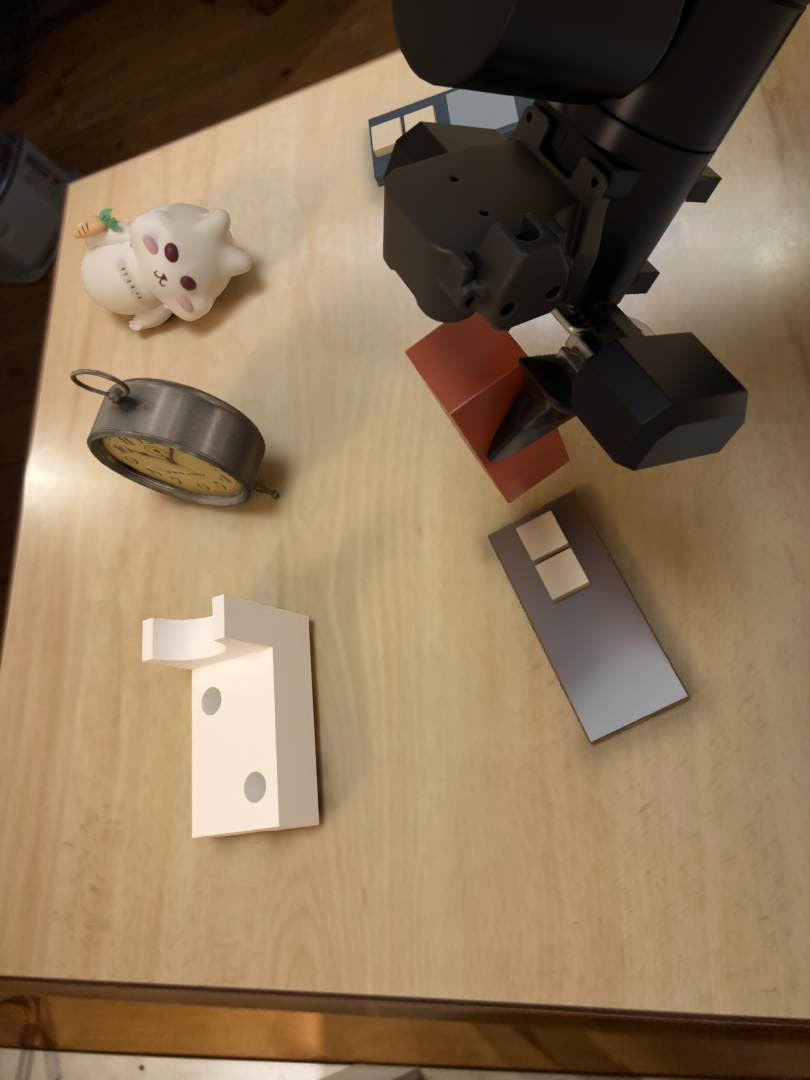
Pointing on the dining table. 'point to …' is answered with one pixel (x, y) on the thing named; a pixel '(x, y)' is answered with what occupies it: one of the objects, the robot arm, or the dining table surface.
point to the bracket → (245, 715)
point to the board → (586, 619)
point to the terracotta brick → (484, 398)
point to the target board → (443, 119)
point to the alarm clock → (177, 440)
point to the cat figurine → (159, 262)
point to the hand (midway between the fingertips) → (471, 426)
